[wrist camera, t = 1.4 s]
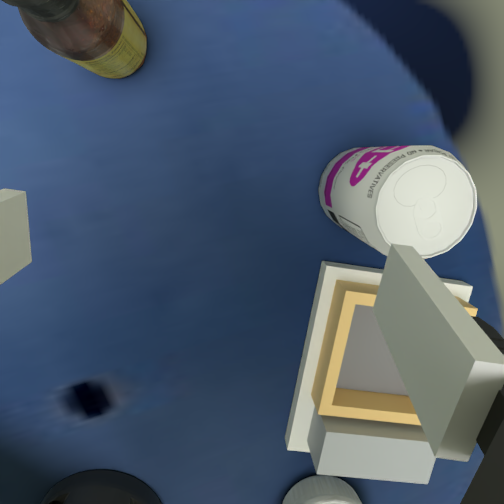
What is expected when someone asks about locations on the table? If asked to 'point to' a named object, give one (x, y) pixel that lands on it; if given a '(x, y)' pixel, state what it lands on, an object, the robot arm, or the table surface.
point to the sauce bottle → (88, 33)
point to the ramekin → (321, 491)
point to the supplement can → (400, 197)
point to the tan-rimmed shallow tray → (357, 386)
